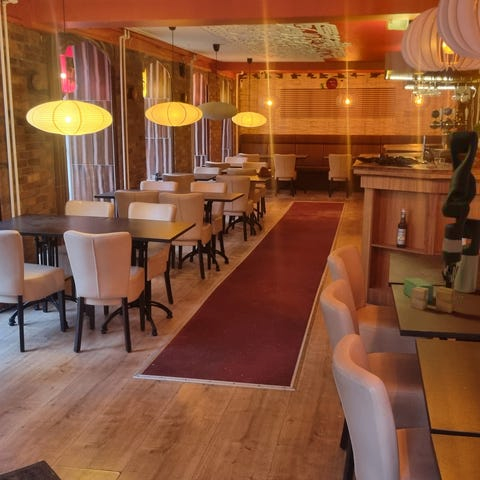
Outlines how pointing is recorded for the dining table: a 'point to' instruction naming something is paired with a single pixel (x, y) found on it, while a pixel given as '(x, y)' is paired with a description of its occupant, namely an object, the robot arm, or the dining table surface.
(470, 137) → the robot arm
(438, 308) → the oak pillar
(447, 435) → the dining table surface
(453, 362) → the dining table surface
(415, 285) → the box
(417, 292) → the birch pillar
